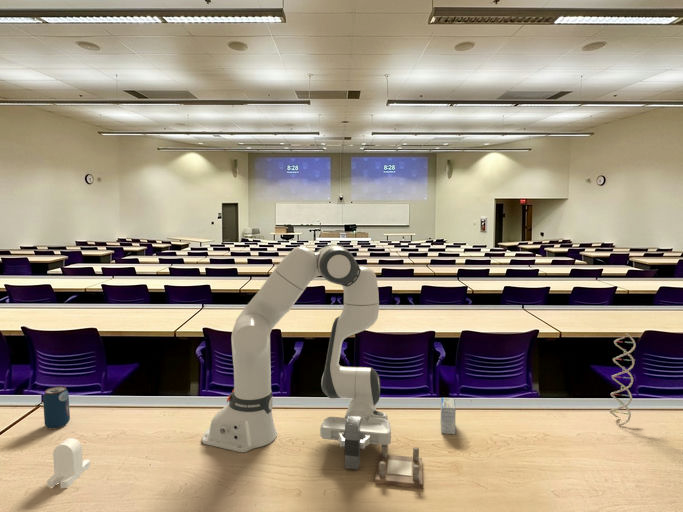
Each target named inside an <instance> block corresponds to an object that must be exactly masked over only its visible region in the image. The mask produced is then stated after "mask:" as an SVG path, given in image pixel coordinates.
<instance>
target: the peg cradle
mask: <svg viewBox="0 0 683 512" xmlns="http://www.w3.org/2000/svg"><path fill="white" fill-rule="evenodd" d="M388 448H389V445H381V453H378V458H377V459H378V460H377V465H376V472H375V478H374V480H375V481H374V483H375V485H376V484H377V485H384V486H385V485H386V486H393V487H394V486H395V487H404V488H413V489H424V488H423V484H424V482H423V481H424V480H423V478H424V477H423V458H422V457H420V448H419V447H417V446H414V447H413V448H412V456H405V455H397V454H396V455H394V454H388V451H389V449H388Z"/></svg>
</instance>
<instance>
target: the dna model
mask: <svg viewBox="0 0 683 512" xmlns="http://www.w3.org/2000/svg"><path fill="white" fill-rule="evenodd" d="M625 335H626V336H627V337H628V338H629V339H630V340H631V341H625V343H627V344H633V347H631V349H630V350H629V351H627V349H625V348H623V347H621V346H620V345H618V343H623V341H620V340H623V339H625V338H626V336H622V337H619V338H616V339H615V340H613V343H614V345H615V346H616V347H617V348H619V349H620V350H622V351H623V353H622V354H620V355H618V356H616V357H613V358H612V361H613V363H614V364H616V365H617V366H618V367H620V368H621V369H622V371H621V372H618V373H616V374H613V375H612V374H611V378H612V380H613V381H614V382H616V383H617V384H619V385H620V389H619V390H615V391H613V392H611V393H610V396H611V397H612V398H613V399H614V400H617V402H618V403H620V404H619V407H618V406H617V407H615V408H612V409H609V413H610V414H612V416H613V417H616V418H617V417H618V418H620V417H619V416H618V415H617V414H623V415H628V418H627V419H626V420H624V421H623V422H622V423H620V424H621V426H624V425H626V424H627V423H628V422H630V419H631V417H632V413H631V411H630V409H629V407H628V406H629V405H630V404H631V402H632V400H633V396H632V393H631V392H630V390H629V388H631V387H632V385H633V384H634V383H633V382H634V377H633V375H632V373H631V372H630V371H631V370H632V369H634V365H635V361H636V359H634V357H633V356H632V354H631V353H632V352H633V351H635V349H636V346H637V345H636V341H635V339H634V338H633V337H632V336H631V335H630V334H628V333H627V332H626V333H625ZM624 356H628V357H629V358H630V359H624V358H623V359H622V357H624ZM616 360H619V361H627V362H629V361H631V365H630V366H629V367H628V369H627V368H626V367H625V366H622V365H621V364H620V363H619V362H618V361H616ZM622 374H628V375H629V376H630V377H629V376H628V377H626V376H623V379H630V383H629V384H628V386H625V385H624V384H623V383H621V382H620V381H619V380H617V379H616V378H620V379H621V378H622V376H620V375H622ZM623 391H627V393H628V395H627V394H622V396H623V397H624V396H625V397H629V400H628V401H627V403H624V402H623V401H622V400H620V399H619V398H617V397H616V396H621V394H618V393H621V392H623ZM615 395H616V396H615ZM624 408H625V409H626V411H627V412H628V413H627V412H622V411H621V412H620V411H618V410H621V409H624ZM615 413H616V414H615ZM618 418H617V419H618Z"/></svg>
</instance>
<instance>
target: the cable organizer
mask: <svg viewBox="0 0 683 512" xmlns="http://www.w3.org/2000/svg"><path fill="white" fill-rule="evenodd" d="M82 447H83V446H82V444H81V442H80V441H79V440H78V439H77V438H74V437H67V438H66V439H64V440H63V441H62V442H61V443H60V444H58V445H57V446H56V447H55V448H53V452H52V453H53V454H52V458H53V472H54V473H53V475H52V476H51V477H49V478H48V479H47V488H48V487H54V486H55V485H56V484H57V483H60V484H59V485H60V486H59V487H60V489H61V488H67V487H69V486H70V485H71V484H72V483H73V482H74V481H75V480H76V479H77V478H78V477H79V476H80V475H81V474H82V473H83V472H84V471H85V470H87V469H88V468H89V467H90V468H91V465H90V464H91V461H90V459H84V460H83V448H82ZM90 468H89V469H90ZM89 469H88V470H89ZM88 470H87V471H88ZM83 474H84V473H83ZM83 474H82V475H83ZM82 475H81V476H82ZM81 476H80V477H81ZM80 477H79V478H80ZM79 478H78V479H79ZM78 479H77V480H78ZM77 480H76V481H77ZM76 481H75V482H76ZM75 482H74V483H75ZM74 483H73V484H74ZM73 484H72V485H73ZM72 485H71V486H72ZM71 486H70V487H71ZM55 487H56V486H55ZM55 487H54V488H55ZM70 487H69V488H70ZM67 489H68V488H67Z"/></svg>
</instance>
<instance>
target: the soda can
mask: <svg viewBox="0 0 683 512" xmlns="http://www.w3.org/2000/svg"><path fill="white" fill-rule="evenodd" d="M42 402H43V420H44V421H43V422H44V426H46V428H48V429H49V428H57V429H60V428H59V427H61V428H63V427H65V426H67V425H66V424H69V422H70V419H71V414H70V399H69V391H68V389H67V387H66V386H64V385H63V386H62V385H58V386H52V387H50V388H47V389H46V390H44V394H43V396H42ZM64 425H65V426H64ZM62 426H63V427H62Z"/></svg>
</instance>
